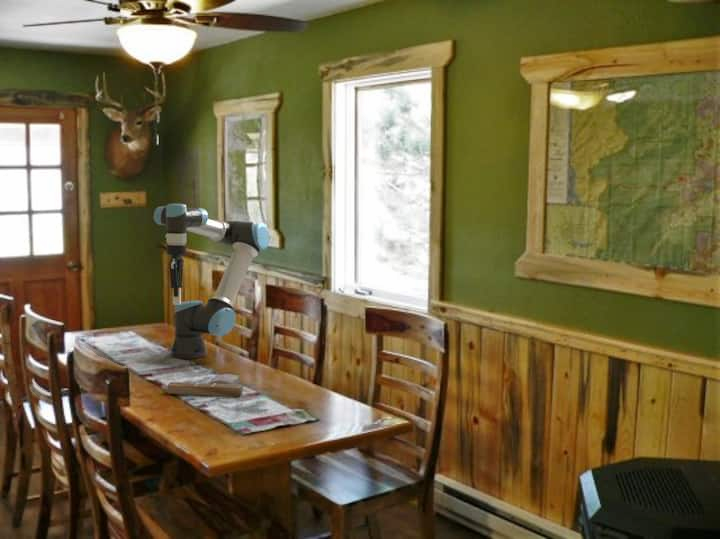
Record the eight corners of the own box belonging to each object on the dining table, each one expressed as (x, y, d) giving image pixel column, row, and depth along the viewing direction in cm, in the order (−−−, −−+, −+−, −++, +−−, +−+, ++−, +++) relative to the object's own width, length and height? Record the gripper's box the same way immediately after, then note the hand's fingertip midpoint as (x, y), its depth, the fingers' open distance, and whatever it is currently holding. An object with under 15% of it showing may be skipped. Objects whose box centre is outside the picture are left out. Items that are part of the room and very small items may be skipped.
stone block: (207, 395, 282) (233, 391, 281) (204, 382, 282) (231, 378, 281) (215, 387, 294) (241, 383, 293) (213, 375, 293) (239, 371, 293)
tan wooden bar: (170, 390, 280) (170, 381, 280) (242, 392, 280) (242, 384, 279) (167, 393, 276) (167, 384, 276) (240, 396, 276) (240, 387, 275)
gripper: (171, 242, 308) (171, 301, 311) (161, 245, 295) (162, 307, 298) (190, 242, 307) (190, 301, 310) (181, 246, 294) (182, 307, 297)
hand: (176, 304), depth 304 cm, fingers closed
